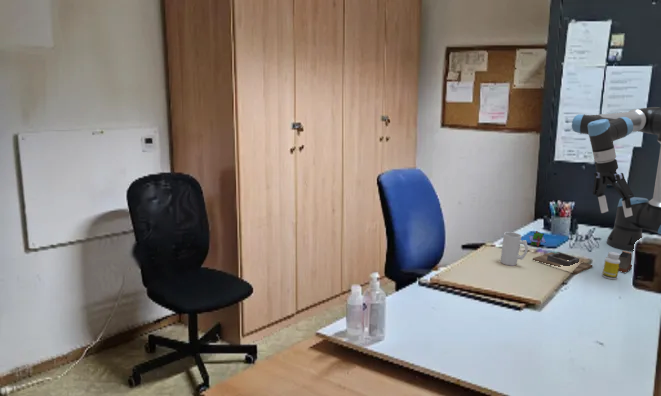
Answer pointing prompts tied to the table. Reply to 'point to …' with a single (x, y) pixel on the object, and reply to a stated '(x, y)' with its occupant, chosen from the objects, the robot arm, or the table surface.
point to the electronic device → (625, 261)
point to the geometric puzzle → (537, 239)
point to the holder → (562, 261)
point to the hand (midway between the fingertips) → (616, 214)
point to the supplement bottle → (611, 266)
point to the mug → (512, 248)
